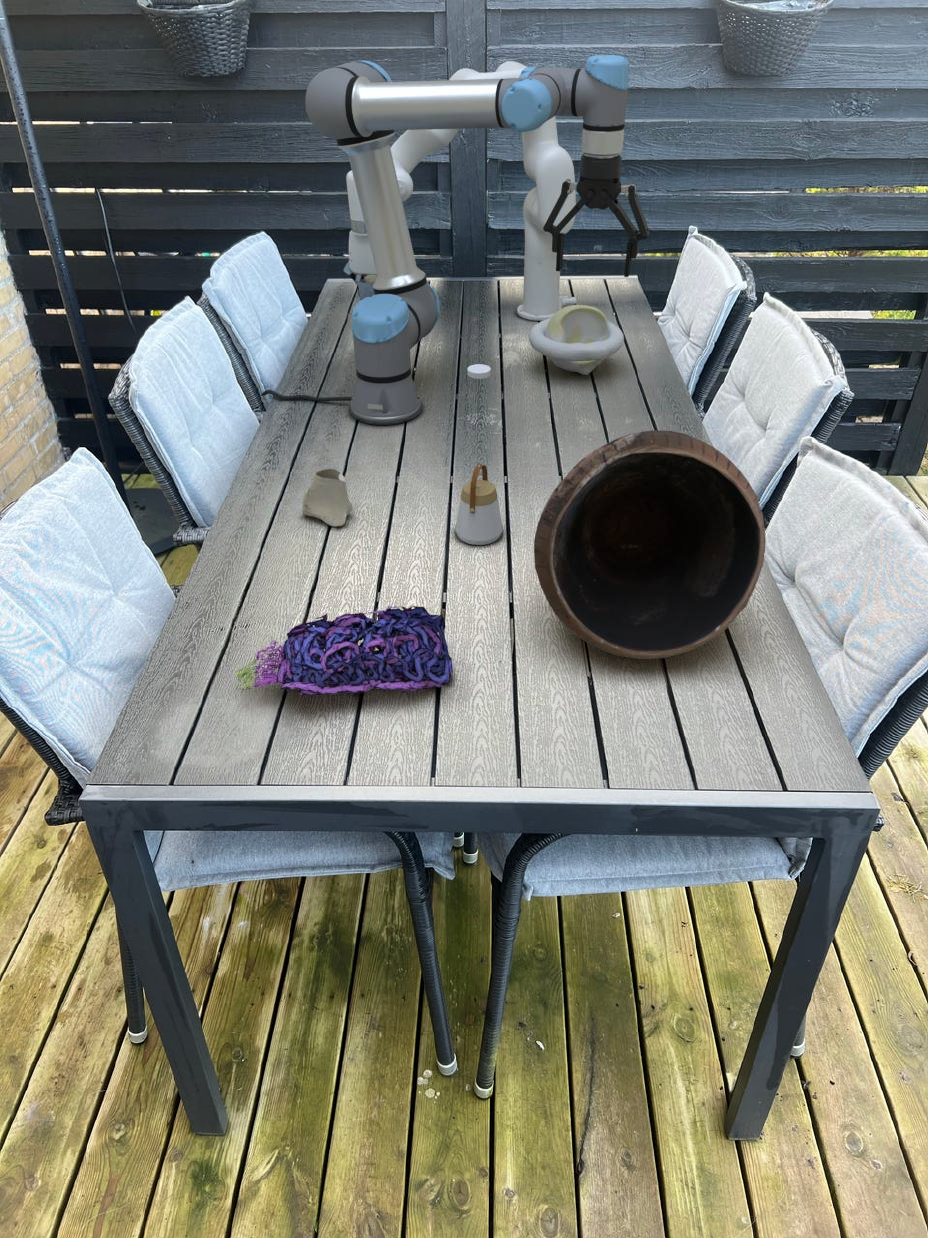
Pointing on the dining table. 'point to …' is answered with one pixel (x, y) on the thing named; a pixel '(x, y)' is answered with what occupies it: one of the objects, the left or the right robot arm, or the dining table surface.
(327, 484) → the grey irregular lump
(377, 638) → the decorative ornament
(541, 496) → the dining table surface
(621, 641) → the pot
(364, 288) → the brick
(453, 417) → the dining table surface
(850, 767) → the dining table surface
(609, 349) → the hat
